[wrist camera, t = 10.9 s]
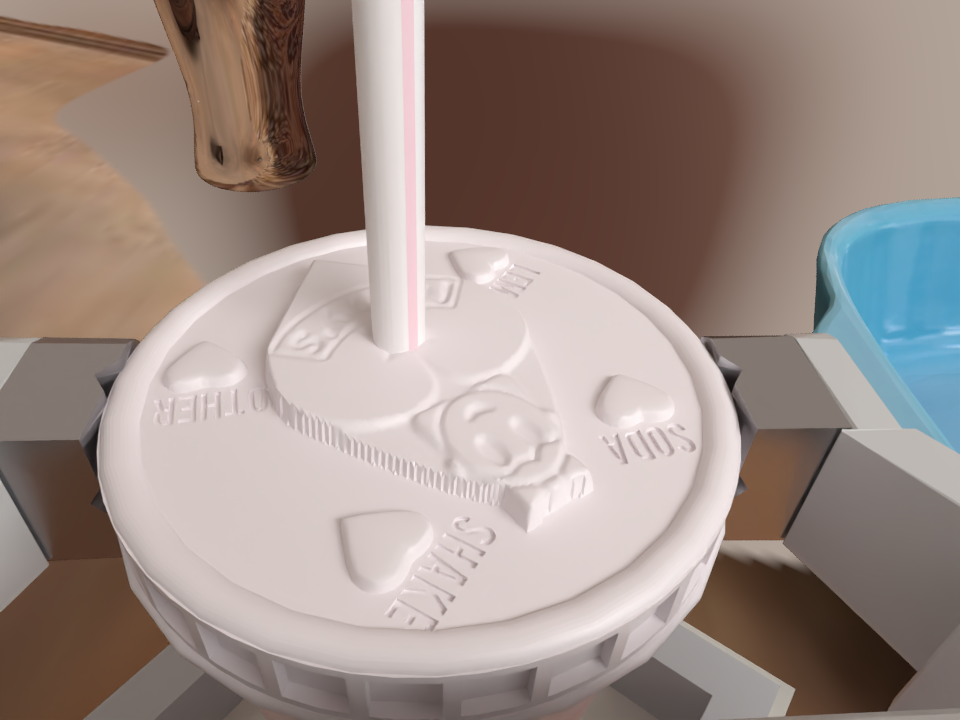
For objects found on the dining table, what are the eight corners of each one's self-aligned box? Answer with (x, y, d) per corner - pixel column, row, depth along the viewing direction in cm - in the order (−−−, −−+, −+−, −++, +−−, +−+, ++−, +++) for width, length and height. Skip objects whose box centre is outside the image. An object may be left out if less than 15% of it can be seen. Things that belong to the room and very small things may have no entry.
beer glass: (257, 127, 41) (206, -203, 32) (352, 160, 39) (329, -189, 29) (157, 171, 37) (63, -201, 27) (258, 211, 34) (194, -184, 25)
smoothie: (463, 559, 17) (500, -181, 8) (672, 799, 13) (1180, -86, 4) (196, 727, 14) (-230, -185, 5) (371, 1106, 10) (-77, 155, 1)
